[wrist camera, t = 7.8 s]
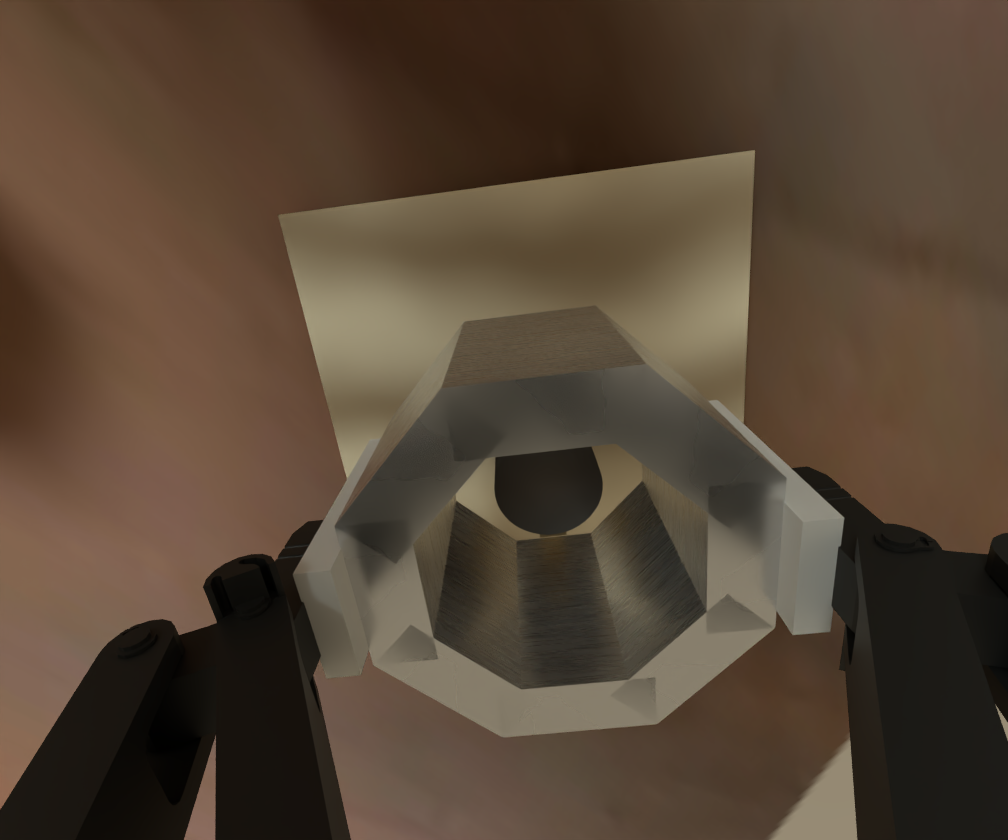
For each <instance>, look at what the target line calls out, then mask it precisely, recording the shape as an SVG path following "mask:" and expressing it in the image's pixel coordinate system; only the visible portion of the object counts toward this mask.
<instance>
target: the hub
mask: <svg viewBox="0 0 1008 840" xmlns="http://www.w3.org/2000/svg"><path fill="white" fill-rule="evenodd" d="M610 444H617V445H618V446H619V447H621V448H622V449H623V450H625V451H626V452H627V453H629V454H630V455H631V456H633V457H634V458H635V459H637V460H638V461H639V462H641V463H642V481H641V482H640V484H639V485H638V486H637V487H636V488H635V489H634V490H633V491H632V492H631V493H630V494H629V495H628V496H627V497H626V498H625V499H624V500H623V501H622V502H621V503H620V504H619V505H618V506H617V507H616V508H615V509H614V510H613V511H612V512H611V513H610V514H609V515H608V516H607V517H606V518H605V519H604V520H603V521H602V522H601V523H600V524H599V525H598V526H597V527H596V528H595V529H594V530H593V531H592V532H591V533H586V534H576V535H567V536H557V537H547V538H538V539H528V540H518V541H516V540H515V539H513V538H512V537H510V536H509V535H507V534H506V533H504V532H503V531H501V530H500V529H498V528H497V527H495V526H494V525H492V524H491V523H489V522H488V521H486V520H485V519H483V518H482V517H480V516H479V515H477V514H476V513H474V512H473V511H471V510H469V509H468V508H466V507H465V506H463V505H462V504H460V503H459V502H457V501H456V496H455V494H456V493H457V492H458V491H459V489H460V488H461V487H462V486H463V485H464V484H465V482H466V481H467V480H468V479H469V478H470V476H471V475H472V474H473V473H474V472H475V471H476V469H477V468H478V467H479V466H480V465H481V464H482V462H483V461H484V460H485V459H486V458H493V457H502V456H511V455H520V454H529V453H538V452H547V451H556V450H565V449H574V448H583V447H592V446H601V445H610ZM786 479H787V478H786V477H785V476H784V475H783V474H782V473H781V472H780V471H779V470H778V469H777V468H776V467H775V466H774V465H773V464H772V463H771V462H770V461H769V460H768V459H767V458H766V457H765V456H764V455H763V454H762V453H761V452H760V451H759V450H758V449H757V448H756V447H755V446H754V445H752V444H751V443H750V442H749V441H748V440H747V439H746V438H745V437H744V436H743V435H742V434H741V433H740V432H739V431H738V430H737V429H736V428H735V427H734V426H733V425H732V424H731V423H730V422H729V421H728V420H727V419H726V418H725V417H724V416H723V415H722V414H721V413H720V412H719V411H718V410H717V409H716V408H715V407H714V406H713V405H712V404H711V403H710V402H709V401H708V400H707V399H706V398H705V397H704V396H703V395H702V394H701V393H699V392H698V391H697V390H696V389H695V388H694V387H693V386H692V385H691V384H690V383H689V382H688V381H687V380H686V379H684V378H683V377H682V376H681V375H680V374H678V373H677V372H676V371H675V370H673V369H672V368H671V367H670V366H669V365H667V364H666V363H665V362H664V361H663V360H661V359H660V358H659V357H658V356H656V355H655V354H654V353H653V352H652V351H650V350H649V349H648V348H647V347H645V346H644V345H643V344H642V343H641V342H639V341H638V340H637V339H636V338H635V337H633V336H632V335H631V334H630V333H628V332H627V331H626V330H625V329H624V328H622V327H621V326H620V325H619V324H618V323H616V322H615V321H614V320H613V319H611V318H610V317H609V316H608V315H607V314H605V313H604V312H603V311H602V310H601V309H599V308H598V307H597V306H596V305H594V306H586V307H577V308H569V309H561V310H553V311H545V312H537V313H529V314H521V315H513V316H505V317H497V318H489V319H481V320H473V321H465V322H464V323H463V324H462V325H461V327H460V328H459V329H458V331H457V332H456V333H455V335H454V336H453V337H452V339H451V340H450V341H449V343H448V344H447V345H446V346H445V348H444V349H443V350H442V352H441V353H440V354H439V356H438V357H437V358H436V360H435V361H434V362H433V364H432V365H431V366H430V368H429V369H428V370H427V372H426V373H425V374H424V376H423V377H422V378H421V380H420V381H419V382H418V384H417V385H416V386H415V388H414V389H413V390H412V392H411V393H410V394H409V396H408V397H407V398H406V400H405V401H404V402H403V403H402V405H401V406H400V407H399V409H398V410H397V411H396V413H395V414H394V415H393V417H392V418H391V420H390V422H389V424H388V426H387V428H386V430H385V432H384V433H383V435H382V437H381V439H380V441H379V443H378V445H377V447H376V448H375V450H374V452H373V454H372V456H371V458H370V460H369V462H368V464H367V465H366V467H365V469H364V471H363V473H362V475H361V477H360V479H359V481H358V482H357V484H356V486H355V488H354V490H353V492H352V494H351V496H350V498H349V499H348V501H347V503H346V505H345V507H344V509H343V511H342V513H341V515H340V516H339V518H338V520H337V522H336V524H335V526H334V527H335V531H336V534H337V538H338V541H339V545H340V548H341V550H342V554H343V557H344V561H345V564H346V568H347V571H348V575H349V579H350V582H351V586H352V589H353V593H354V596H355V600H356V604H357V607H358V611H359V614H360V618H361V621H362V625H363V629H364V632H365V636H366V639H367V643H368V646H369V652H370V655H371V659H372V663H373V666H375V667H377V668H379V669H380V670H382V671H384V672H386V673H388V674H389V675H391V676H393V677H395V678H397V679H398V680H400V681H402V682H404V683H406V684H407V685H409V686H411V687H413V688H415V689H416V690H418V691H420V692H422V693H424V694H425V695H427V696H429V697H431V698H433V699H434V700H436V701H438V702H440V703H442V704H443V705H445V706H447V707H449V708H450V709H452V710H454V711H456V712H458V713H459V714H461V715H463V716H465V717H467V718H468V719H470V720H472V721H474V722H476V723H477V724H479V725H481V726H483V727H485V728H486V729H488V730H490V731H492V732H494V733H495V734H497V735H499V736H501V737H515V736H526V735H538V734H550V733H561V732H573V731H584V730H596V729H608V728H619V727H631V726H643V725H654V724H658V723H659V722H660V721H662V720H663V719H664V718H665V717H667V716H668V715H669V714H670V713H671V712H673V711H674V710H675V709H676V708H678V707H679V706H680V705H681V704H682V703H684V702H685V701H686V700H687V699H689V698H690V697H691V696H692V695H694V694H695V693H696V692H697V691H698V690H700V689H701V688H702V687H703V686H705V685H706V684H707V683H708V682H709V681H711V680H712V679H713V678H714V677H716V676H717V675H718V674H719V673H721V672H722V671H723V670H724V669H725V668H727V667H728V666H729V665H730V664H732V663H733V662H734V661H735V660H736V659H738V658H739V657H740V656H741V655H743V654H744V653H745V652H746V651H747V650H749V649H750V648H751V647H752V646H754V645H755V644H756V643H757V642H759V641H760V640H761V639H762V638H763V637H765V636H766V635H767V634H768V633H770V632H771V631H772V630H773V629H774V628H775V625H776V612H777V611H776V602H777V589H778V576H779V562H780V549H781V536H782V522H783V509H784V502H785V493H786Z"/></svg>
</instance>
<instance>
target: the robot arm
mask: <svg viewBox="0 0 1008 840" xmlns="http://www.w3.org/2000/svg"><path fill="white" fill-rule="evenodd" d="M709 402H710V403H711V404H712V405H713V406H714V407H715V408H716V409H717V410H718V411H719V412H720V413H721V414H722V415H723V416H724V417H725V418H726V419H727V420H728V421H729V422H730V423H731V424H732V425H733V426H734V427H735V428H736V429H737V430H738V431H739V432H740V433H741V434H742V435H743V436H744V437H745V438H746V439H747V440H748V441H749V442H750V443H751V444H752V445H754V446H755V447H756V448H757V449H758V450H759V451H760V452H761V453H762V454H763V455H764V456H765V457H766V458H767V459H768V460H769V461H770V462H771V463H772V464H773V465H774V466H775V467H776V468H777V469H778V470H779V471H780V472H781V473H782V474H783V475H784V476H785V477H786V478H787V479H786V493H785V502H784V509H783V522H782V536H781V549H780V562H779V576H778V589H777V602H776V611H777V612H778V614H779V615H780V617H781V618H782V620H783V621H784V623H785V624H786V626H787V627H788V629H789V630H790V632H791V634H792V635H801V634H811V633H822V632H830V630H831V622H832V614H833V608H834V610H835V611H836V612H837V613H838V615H839V616H840V617H841V618H842V619H843V621H844V622H845V623H846V624H845V631H844V639H843V646H842V654H841V661H840V669H839V670H843V671H845V672H846V686H847V699H848V713H849V727H850V741H851V754H852V769H853V782H854V797H855V810H856V824H857V838H858V840H1008V741H1007V738H1006V734H1005V732H1004V729H1003V726H1002V723H1001V720H1000V717H999V715H998V711H997V709H996V706H997V707H998V708H999V710H1000V711H1001V713H1002V715H1003V716H1004V718H1005V719H1006V720H1007V722H1008V533H1003V534H1001V535H998V536H996V537H994V538H993V540H992V542H991V545H990V550H989V554H988V555H987V554H976V553H965V552H953V551H945V550H942V548H941V547H940V546H939V544H938V543H937V542H936V540H934V539H933V538H931V537H930V536H928V535H927V534H925V533H923V532H921V531H918V530H915V529H913V528H910V527H906V526H901V525H897V524H884V523H883V522H882V521H881V520H880V519H878V518H877V517H876V516H875V515H874V514H872V513H871V512H870V511H869V510H868V509H867V508H865V507H864V506H863V505H862V504H861V503H859V502H858V501H857V500H856V499H855V498H851V495H850V494H849V493H848V492H846V491H845V490H844V489H843V488H842V489H841V488H840V486H839V485H838V484H837V483H836V482H835V481H833V480H832V479H831V478H830V477H829V476H828V475H826V474H823V473H821V472H819V471H817V470H814V469H812V468H810V467H799V468H790V467H789V466H788V465H787V464H786V463H785V462H784V461H783V460H782V459H781V458H780V457H778V456H777V455H776V454H775V453H774V452H773V451H772V450H771V449H770V448H769V447H768V446H767V445H766V444H764V443H763V442H762V441H761V440H760V439H759V438H758V437H757V436H756V435H755V434H754V433H753V432H752V431H751V430H749V429H748V428H747V427H746V426H745V425H744V424H743V423H742V422H741V421H740V420H739V419H738V418H737V417H735V416H734V415H733V414H732V413H731V412H730V411H729V410H728V409H727V408H726V407H725V406H724V405H723V404H722V403H720V402H719V401H718V400H712V401H709ZM380 439H381V438H379V439H371V440H370V441H369V442H368V444H367V446H366V448H365V449H364V451H363V453H362V454H361V456H360V458H359V460H358V461H357V463H356V465H355V467H354V468H353V470H352V472H351V474H350V475H349V477H348V479H347V481H346V482H345V484H344V486H343V488H342V489H341V491H340V493H339V494H338V496H337V498H336V500H335V501H334V503H333V505H332V507H331V508H330V510H329V512H328V514H327V515H326V517H325V519H324V520H318V521H309V522H307V523H305V524H304V525H303V526H302V527H300V528H299V529H298V530H297V531H295V532H294V533H293V534H292V536H291V537H290V539H289V540H288V542H287V543H286V545H285V549H283V550H282V551H281V553H280V554H279V556H278V559H276V561H274V560H273V559H272V557H271V556H268V555H264V554H251V555H247V556H243V557H239V558H237V559H234V560H232V561H230V562H228V563H225V564H224V565H222V566H221V567H219V568H218V569H216V570H215V571H214V572H213V573H212V574H211V575H210V576H209V577H208V578H207V579H206V581H205V584H204V586H203V588H204V590H205V593H206V595H207V598H208V600H209V603H210V605H211V608H212V610H213V613H214V615H215V618H216V620H217V623H216V624H213V625H210V626H208V627H204V628H201V629H198V630H195V631H192V632H188V633H185V634H182V635H178V632H177V630H176V628H175V626H174V625H173V623H172V622H171V621H168V620H163V619H160V620H152V621H147V622H145V623H142V624H138V625H135V626H133V627H131V628H130V629H127V630H125V631H123V632H122V633H120V634H119V635H118V636H117V637H115V638H114V639H113V640H111V641H110V642H109V643H108V644H107V645H106V646H105V647H104V648H103V649H102V651H101V652H100V653H99V654H98V656H97V658H96V659H95V661H94V662H93V664H92V666H91V667H90V669H89V670H88V672H87V673H86V675H85V677H84V678H83V680H82V681H81V683H80V685H79V686H78V688H77V689H76V691H75V692H74V694H73V696H72V697H71V699H70V700H69V702H68V704H67V705H66V707H65V708H64V710H63V711H62V713H61V715H60V716H59V718H58V719H57V721H56V723H55V724H54V726H53V727H52V729H51V730H50V732H49V734H48V735H47V737H46V738H45V740H44V742H43V743H42V745H41V746H40V748H39V749H38V751H37V753H36V754H35V756H34V757H33V759H32V761H31V762H30V764H29V765H28V767H27V768H26V770H25V772H24V773H23V775H22V776H21V778H20V780H19V781H18V783H17V784H16V786H15V787H14V789H13V791H12V792H11V794H10V795H9V797H8V799H7V800H6V802H5V803H4V805H3V806H2V808H1V810H0V840H184V837H185V834H186V830H187V827H188V824H189V821H190V817H191V814H192V811H193V807H194V804H195V801H196V798H197V794H198V791H199V788H200V784H201V781H202V778H203V775H204V771H205V768H206V765H207V761H208V758H209V755H210V752H211V748H212V745H213V742H214V739H215V735H216V830H215V840H351V838H350V834H349V829H348V825H347V820H346V816H345V811H344V807H343V802H342V798H341V793H340V788H339V784H338V779H337V775H336V770H335V766H334V761H333V757H332V752H331V748H330V743H329V739H328V734H327V730H326V725H325V721H324V716H323V711H322V707H321V702H320V698H319V693H318V689H317V686H316V683H315V680H314V677H313V674H314V672H315V669H316V667H317V664H318V662H319V659H320V660H321V663H322V666H323V670H324V673H325V676H326V678H337V677H348V676H358V675H361V674H362V670H363V667H364V664H365V661H366V657H367V654H368V651H369V646H368V643H367V639H366V636H365V632H364V629H363V625H362V621H361V618H360V614H359V611H358V607H357V604H356V600H355V596H354V593H353V589H352V586H351V582H350V579H349V575H348V571H347V568H346V564H345V561H344V557H343V554H342V550H341V548H340V545H339V541H338V538H337V534H336V531H335V527H334V526H335V524H336V522H337V520H338V518H339V516H340V515H341V513H342V511H343V509H344V507H345V505H346V503H347V501H348V499H349V498H350V496H351V494H352V492H353V490H354V488H355V486H356V484H357V482H358V481H359V479H360V477H361V475H362V473H363V471H364V469H365V467H366V465H367V464H368V462H369V460H370V458H371V456H372V454H373V452H374V450H375V448H376V447H377V445H378V443H379V441H380ZM995 704H996V705H995Z"/></svg>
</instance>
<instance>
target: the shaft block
mask: <svg viewBox="0 0 1008 840" xmlns="http://www.w3.org/2000/svg"><path fill="white" fill-rule="evenodd" d="M754 162H755V150H752V151H745V152H737V153H730V154H723V155H715V156H708V157H701V158H693V159H686V160H679V161H671V162H664V163H656V164H649V165H642V166H634V167H627V168H620V169H612V170H605V171H598V172H590V173H583V174H576V175H568V176H561V177H554V178H546V179H539V180H532V181H524V182H517V183H509V184H502V185H495V186H487V187H480V188H473V189H465V190H458V191H451V192H443V193H436V194H429V195H421V196H414V197H407V198H399V199H392V200H384V201H377V202H370V203H362V204H355V205H348V206H340V207H333V208H326V209H318V210H311V211H304V212H296V213H289V214H282V215H278V217H279V221H280V225H281V228H282V232H283V236H284V240H285V244H286V248H287V251H288V255H289V259H290V263H291V267H292V271H293V274H294V278H295V282H296V286H297V290H298V293H299V297H300V301H301V305H302V309H303V313H304V316H305V320H306V324H307V328H308V332H309V336H310V339H311V343H312V347H313V351H314V355H315V359H316V362H317V366H318V370H319V374H320V378H321V382H322V385H323V389H324V393H325V397H326V401H327V404H328V408H329V412H330V416H331V420H332V424H333V427H334V431H335V435H336V439H337V443H338V447H339V450H340V454H341V458H342V462H343V466H344V470H345V473H346V477H347V479H348V477H349V475H350V474H351V472H352V470H353V468H354V467H355V465H356V463H357V461H358V460H359V458H360V456H361V454H362V453H363V451H364V449H365V448H366V446H367V444H368V442H369V441H370V440H371V439H379V438H381V437H382V435H383V433H384V432H385V430H386V428H387V426H388V424H389V422H390V420H391V418H392V417H393V415H394V414H395V413H396V411H397V410H398V409H399V407H400V406H401V405H402V403H403V402H404V401H405V400H406V398H407V397H408V396H409V394H410V393H411V392H412V390H413V389H414V388H415V386H416V385H417V384H418V382H419V381H420V380H421V378H422V377H423V376H424V374H425V373H426V372H427V370H428V369H429V368H430V366H431V365H432V364H433V362H434V361H435V360H436V358H437V357H438V356H439V354H440V353H441V352H442V350H443V349H444V348H445V346H446V345H447V344H448V343H449V341H450V340H451V339H452V337H453V336H454V335H455V333H456V332H457V331H458V329H459V328H460V327H461V325H462V324H463V323H464V322H465V321H473V320H481V319H489V318H497V317H505V316H513V315H521V314H529V313H537V312H545V311H553V310H561V309H569V308H577V307H586V306H594V305H596V306H597V307H598V308H599V309H601V310H602V311H603V312H604V313H605V314H607V315H608V316H609V317H610V318H611V319H613V320H614V321H615V322H616V323H618V324H619V325H620V326H621V327H622V328H624V329H625V330H626V331H627V332H628V333H630V334H631V335H632V336H633V337H635V338H636V339H637V340H638V341H639V342H641V343H642V344H643V345H644V346H645V347H647V348H648V349H649V350H650V351H652V352H653V353H654V354H655V355H656V356H658V357H659V358H660V359H661V360H663V361H664V362H665V363H666V364H667V365H669V366H670V367H671V368H672V369H673V370H675V371H676V372H677V373H678V374H680V375H681V376H682V377H683V378H684V379H686V380H687V381H688V382H689V383H690V384H691V385H692V386H693V387H694V388H695V389H696V390H697V391H698V392H699V393H701V394H702V395H703V396H704V397H705V398H706V399H707V400H708V401H712V400H718V401H719V402H720V403H722V404H723V405H724V406H725V407H726V408H727V409H728V410H729V411H730V412H731V413H732V414H733V415H734V416H735V417H737V418H738V419H739V420H740V421H741V422H742V423H743V424H744V401H745V377H746V353H747V329H748V305H749V281H750V257H751V233H752V209H753V186H754ZM641 481H642V463H641V462H639V461H638V460H637V459H635V458H634V457H633V456H631V455H630V454H629V453H627V452H626V451H625V450H623V449H622V448H621V447H619V446H618V445H617V444H610V445H601V446H592V447H583V448H574V449H565V450H556V451H547V452H538V453H529V454H520V455H511V456H502V457H493V458H486V459H485V460H484V461H483V462H482V464H481V465H480V466H479V467H478V468H477V469H476V471H475V472H474V473H473V474H472V475H471V476H470V478H469V479H468V480H467V481H466V482H465V484H464V485H463V486H462V487H461V488H460V489H459V491H458V492H457V493H456V494H455V496H456V501H457V502H459V503H460V504H462V505H463V506H465V507H466V508H468V509H469V510H471V511H473V512H474V513H476V514H477V515H479V516H480V517H482V518H483V519H485V520H486V521H488V522H489V523H491V524H492V525H494V526H495V527H497V528H498V529H500V530H501V531H503V532H504V533H506V534H507V535H509V536H510V537H512V538H513V539H515V540H516V541H518V540H528V539H538V538H547V537H557V536H567V535H576V534H586V533H591V532H592V531H593V530H594V529H595V528H596V527H597V526H598V525H599V524H600V523H601V522H602V521H603V520H604V519H605V518H606V517H607V516H608V515H609V514H610V513H611V512H612V511H613V510H614V509H615V508H616V507H617V506H618V505H619V504H620V503H621V502H622V501H623V500H624V499H625V498H626V497H627V496H628V495H629V494H630V493H631V492H632V491H633V490H634V489H635V488H636V487H637V486H638V485H639V484H640V482H641Z"/></svg>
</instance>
